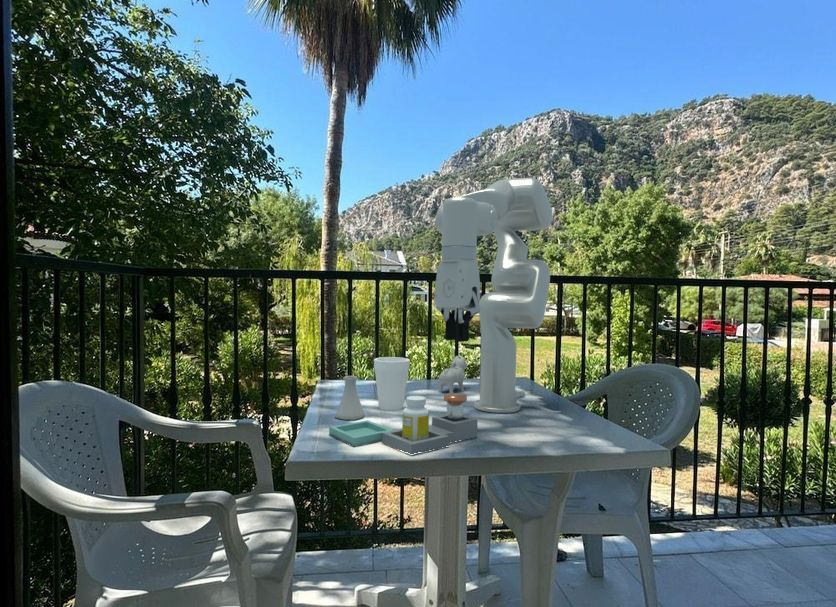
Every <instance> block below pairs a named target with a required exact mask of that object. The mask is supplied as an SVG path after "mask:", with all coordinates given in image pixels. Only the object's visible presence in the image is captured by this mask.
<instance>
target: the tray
mask: <svg viewBox="0 0 836 607" xmlns="http://www.w3.org/2000/svg"><path fill="white" fill-rule="evenodd" d="M393 430H394V429H392V428H388V427H386V426H384V425H381V424H378V423H376V422H374V421H371V420H363V421H356V422H350V423H345V424H344V423H343V424H339V425H338V424H337V425H334V426H329V429H328V432H329V433H328V435H329V436H330V437H332V436H333V437H332V438H334V437H335V438H334V439H336V438H337V439H336V440H338V439H339V440H338V441H340V440H341V441H340V442H342V441H344V442H346V443H345V444H347V443H348V444H347V445H349V444H350V445H349V446H351V445H352V446H351V447H353V446H356V447H359V445H361V446H364V445H363V444H366V445H369V444H368V443H371V444H374V443H373V442H376V443H379V442H378V441H380V442H382V433H383V432H388V431H393ZM344 442H343V443H344Z"/></svg>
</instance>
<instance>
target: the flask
mask: <svg viewBox="0 0 836 607" xmlns="http://www.w3.org/2000/svg"><path fill="white" fill-rule="evenodd" d="M357 379H358V376H355V375H346V376H344V378H343V380H344V390H343V393H342V397H341V399H340V403H339V406H338V408H337V410H336V413H335V416H334V418H336V419H340V420H344V421H345V420H346V421H347V420H350V421H351V420H354V421H355V420H359V419H363V418H364V417H365V411H364V408H363V406H362V403H361V400H360V398H359V395H358V391H357V390H358V389H357Z"/></svg>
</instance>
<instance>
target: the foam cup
mask: <svg viewBox="0 0 836 607" xmlns="http://www.w3.org/2000/svg"><path fill="white" fill-rule="evenodd" d="M373 361H374V362H373V369H374V374H375V383H376V394H377V401H378V409H380V410H381V409H382V411H388V412H392V411H393V412H396V411H401V410H403V409H404V403H405V395H406V390H407V384H408V377H409V376H408V375H409V370H410V367H411V366H410V363H411V362H410V361H411V360H410V359H409V358H408V357H407V358H405V357H397V356H395V357H394V356H385V357H376V358H374V359H373ZM400 409H401V410H400Z"/></svg>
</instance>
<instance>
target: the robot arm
mask: <svg viewBox="0 0 836 607" xmlns="http://www.w3.org/2000/svg"><path fill="white" fill-rule="evenodd" d="M552 222H553V209H552V204H551V202H550V200H549V197H548V195H547V192H546V190H545V187H544V185H542V182H540V180H538V179H537V178H536V177H530V176H529V177H518V178H517V177H516V178H505V179H499V180H497V181H495V182H494V183H492V184H490V185H489V186H488V187H486V188H484V189H481V190H477V191H473V192H471V193H468V194H464V195H459V196H456V197H455V196H454V197H449V198H447V199H445V200H444V201H443V204H441V205H440V206H439V208H438V209H437V212H436V214H435V227H436V229H437V231H438V232H439V233H440V234H441V252H440V256H441V261H440V262H439V263H438V267H437V271H436V278H435V287H434V305H435V306H436V307H435V309H436V310H437V311H438V312H439V313H441V315H442V318H443V321H444V322H445V325H444V327H445V329H444V330H445V333H444V339H445V341H456V342H458V343H461V342H462V343H463V342H469V338H470V337H469V334H470V324H471V322H472V319H473V318H474V317H475V315H479V323H480V336H481V337H480V371H479V372H480V375H479V376H480V377H479V399H477V400H474V401H473V408H475V409H476V410H479V411H483V412H488V413H495V414H496V413H497V414H507V413H508V414H509V413H517V412H518V411H520V410H521V408H522V406H521V404H520V403H519V402H518V400H519V399H524V398H526V392H525V391H524V390H521V391H520V390H519V391H518V390H516V379H517V378H516V376H517V372H516V371H517V342H516V339H515V337H514V336H513V334H512V333H511V331H510V330H509V329H528V330H529V329H538V328H539V327H541V325H542V323H543V321H544V317H545V314H546V307H547V304H548V303H547V302H548V296H549V290H550V282H551V273H550V268H549V265H548V264H547V263H546V261H544V260H541V259H527V258H528V252H529V251H528V250H529V249H528V247H527V245H526V243H525V242H524V241H523V239H522V238H521V237H520V236H518V235H517V234H516V232H517V231H518V232H520V231H521V232H523V231H525V232H526V231H528V232H529V231H544V230H546V229H548V228H549V227H550V226H551V224H552ZM493 233H494V236H495V240H496V243H497V250H496V251H497V253H496V257H495V260H494V265H493V270H492V274H491V280H490V281H491V286H492V289H493V290H495V291H491V292H487V293H485V294H483V295H482V296H481V283H480V282H481V280H480V269H479V264H478V262H477V245H478V244H477V239H478V238H477V237H484V236H488V235H491V234H493ZM480 297H481V298H480ZM457 313H458V321H457Z"/></svg>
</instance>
